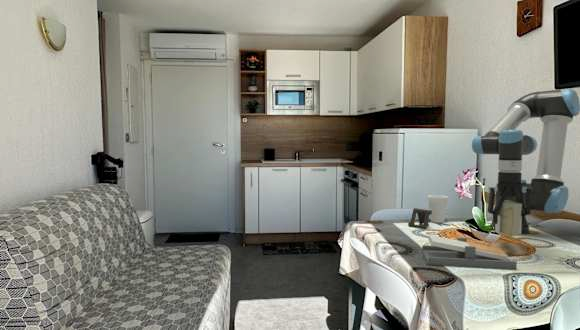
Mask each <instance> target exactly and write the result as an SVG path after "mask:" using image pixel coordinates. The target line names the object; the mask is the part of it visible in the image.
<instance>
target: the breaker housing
mask: <svg viewBox="0 0 580 330" xmlns="http://www.w3.org/2000/svg"><path fill="white" fill-rule="evenodd" d="M456 240H458V241H463V242H468V238H467V237H459V236H458V237H457V238H456ZM421 248H422V249H421V252H422V254H423V256H424V258H425V260H426V262H427V264H428V265H432V266H447V267H449V266H450V267H464V268H465V267H467V268H483V269H484V268H485V269H502V270H503V269H505V270H517V261H515V260H510V259H509V258H508V259H507V261H505V260H500V259H495V258H490V257H485V256H480V255H475V251H476V247H475V246H465V252H460V251H456V250H451V249H446V248H441V247H436V246H432V245H428V244H427V245H422V247H421ZM501 250H502V249H501Z"/></svg>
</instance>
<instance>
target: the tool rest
mask: <svg viewBox="0 0 580 330" xmlns="http://www.w3.org/2000/svg"><path fill="white" fill-rule="evenodd" d="M489 246H490V247H495V248H500V249H502V251H504V252H505V253H506V254H507V256H525V255H527V251H528V249H527V247H525V245H524V246H523V245H522V244H521V245H520V244H517V243H511V242H501V241H498V242H490V243H489Z"/></svg>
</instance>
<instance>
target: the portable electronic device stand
mask: <svg viewBox="0 0 580 330" xmlns="http://www.w3.org/2000/svg"><path fill="white" fill-rule="evenodd" d="M431 214H432V211H431V210H430V209H425V208H418V207H417V208H415V207H414V208H413V209H412V214H411V219H410V221H408V222H407V223H408V225H407V226H408V227H411V228H417V229H421V230H427V228H428V227H429V226H430V224H429V219H430V215H431ZM416 217H417V219H418V224H415V221H416Z"/></svg>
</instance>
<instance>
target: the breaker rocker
mask: <svg viewBox="0 0 580 330" xmlns="http://www.w3.org/2000/svg"><path fill="white" fill-rule="evenodd" d="M427 240H428V241H429V243H430V246H436V247H441V248H446V249H451V250H456V251H460V252H465V246H475V247H476V251H475V255H480V256H485V257H490V258H495V259H500V260H505V261H507V259H509V255H507V254H506V253H505V252H504V251H502V250H501V249H500V248H495V247H490V245H486V244H485V245H484V244H478V243H473V242H469V241H467V242H463V241H458V240H457V239H452V238H449V237H448V238H447V237H442V236H438V235H432V234H428V237H427Z"/></svg>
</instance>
